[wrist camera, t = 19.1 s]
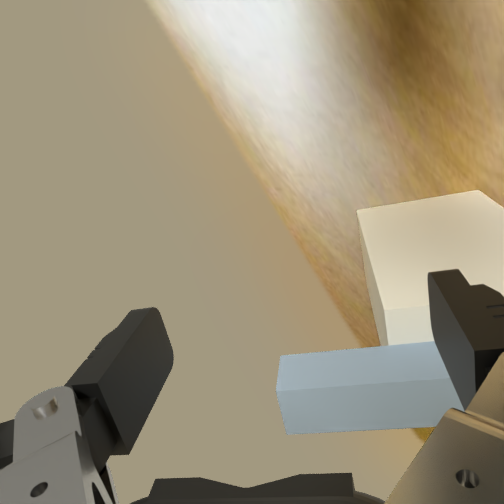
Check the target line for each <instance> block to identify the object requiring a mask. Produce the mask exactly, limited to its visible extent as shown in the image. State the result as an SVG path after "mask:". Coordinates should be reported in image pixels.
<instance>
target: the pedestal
mask: <svg viewBox="0 0 504 504" xmlns="http://www.w3.org/2000/svg"><path fill="white" fill-rule="evenodd" d="M356 213H357V220H358V227H359V235H360V242H361V249H362V257H363V264H364V271H365V279H366V284H367V288H368V293H369V297H370V301H371V306H372V310H373V314H374V319H375V323H376V327H377V332H378V336H379V340H380V345H381V346H388V345H399V344H410V343H420V342H431V341H434V338H433V333H432V328H431V320H430V307H429V294H428V281H427V277H428V273H429V272H435V271H443V270H451V269H459V270H460V272H461V273H462V274H463V276H464V277H465V278H466V280H467V281H468V283H469V284H470V285H478V284H484V285H486V286H488V287H490V288H492V289H494V290H496V291H498V292H500V293H501V294H502V295H503V297H504V208H503V207H502V206H500V205H499V204H497V203H496V202H495V201H493V200H492V199H491V198H489V197H488V196H486V195H485V194H484V193H482V192H481V191H479V190H474V191H468V192H462V193H456V194H450V195H444V196H438V197H432V198H426V199H420V200H414V201H408V202H402V203H396V204H390V205H384V206H377V207H371V208H365V209H359V210H356Z"/></svg>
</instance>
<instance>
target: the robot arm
mask: <svg viewBox="0 0 504 504" xmlns="http://www.w3.org/2000/svg"><path fill="white" fill-rule="evenodd" d="M427 281H428V294H429V307H430V320H431V328H432V333H433V338H434V341H435V344H436V347H437V349H438V351H439V353H440V356H441V358H442V360H443V363H444V365H445V367H446V370H447V372H448V374H449V376H450V379H451V381H452V383H453V386H454V388H455V390H456V393H457V395H458V397H459V399H460V402H461V404H462V406H463V409H464V411H465V412H464V411H461V410H459V409H456V408H450V409H449V410H448V411H446V413H445V414H444V415H443V417H442V418H441V420H440V421H439V423H438V424H437V426H436V427H435V429H434V430H433V432H432V433H431V435H430V436H429V438H428V439H427V440H426V442H425V443H424V445H423V446H422V448H421V449H420V451H419V452H418V454H417V455H416V457H415V458H414V460H413V461H412V463H411V465H410V466H409V467H408V469H407V470H406V472H405V473H404V475H403V476H402V478H401V480H400V481H399V482H398V484H397V485H396V487H395V488H394V490H393V491H392V493H391V494H390V496H389V497H388V499H387V500H386V502H385V501H383V500H381V499H379V498H377V497H374V496H371V495H368V494H365V493H361V492H357V491H355V488H354V483H353V477H352V473H331V474H299V475H296V476H292V477H288V478H284V479H281V480H277V481H274V482H269V483H265V484H262V485H258V486H255V487H250V488H242V487H237V486H233V485H229V484H225V483H221V482H217V481H213V480H208V479H204V478H200V477H199V478H170V479H169V478H168V479H155V481H154V484H153V486H152V489H151V491H150V494H149V496H148V497H145V498H142V499H140V500H137V501H135V502H132V503H131V504H504V297H503V295H502V294H501V293H500V292H498V291H496V290H494V289H492V288H490V287H488V286H486V285H484V284H478V285H470V284H469V283H468V281H467V280H466V278H465V277H464V276H463V274H462V273H461V272H460V270H459V269H451V270H443V271H435V272H429V273H428V277H427ZM172 366H173V350H172V346H171V343H170V340H169V338H168V335H167V332H166V329H165V326H164V323H163V320H162V317H161V315H160V312H159V311H158V309H157V308H154V307H152V308H144V309H137V310H131V311H130V312H129V313H128V315H127V316H126V317H125V318H124V319H123V321H122V322H121V323H120V324H119V326H118V327H117V328H116V329H115V330H113V331H112V332H110V333H109V334H108V335H106V336H105V337H104V338H103V339H102V340H101V342H99V344H98V345H97V346H96V347H95V350H93V351H92V352H91V354H90V355H89V356H88V359H86V360H85V361H84V362H83V363H82V365H81V366H80V367H79V368H78V369H77V371H76V372H75V373H74V374H73V376H72V377H71V378H70V379H69V380H68V382H67V383H66V384H65V385H64V386H61V387H55V388H51V389H48V390H46V391H43V392H41V393H39V394H38V395H36V396H34V397H33V398H31V399H30V400H29V401H27V402H26V403H25V404H24V405H23V406H22V407H21V408H20V409H19V411H18V412H17V414H16V416H15V419H13V420H10V421H7V422H3V423H0V504H119V501H118V497H117V493H116V490H115V486H114V482H113V478H112V474H111V471H110V468H109V466H108V464H107V460H108V458H109V456H110V455H129V454H130V451H131V450H132V448H133V445H134V443H135V441H136V440H137V438H138V436H139V433H140V432H141V430H142V427H143V425H144V424H145V421H146V419H147V417H148V415H149V413H150V411H151V409H152V407H153V405H154V403H155V401H156V399H157V397H158V395H159V393H160V391H161V389H162V387H163V385H164V383H165V381H166V379H167V377H168V375H169V373H170V371H171V369H172Z"/></svg>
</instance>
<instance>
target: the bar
mask: <svg viewBox="0 0 504 504" xmlns="http://www.w3.org/2000/svg"><path fill="white" fill-rule="evenodd" d="M276 394H277V398H278V402H279V406H280V410H281V414H282V418H283V422H284V425H285V430H286V434H287V435H288V434H306V433H326V432H345V431H365V430H383V429H403V428H422V427H436V426H437V424H438V423H439V421H440V420H441V418H442V417H443V415H444V414H445V413H446V411H448V410H449V409H450V408H456V409H459V410H461V411H464V409H463V406H462V404H461V402H460V399H459V397H458V395H457V393H456V390H455V388H454V386H453V383H452V381H451V379H450V376H449V374H448V372H447V370H446V367H445V365H444V363H443V360H442V358H441V356H440V353H439V351H438V349H437V347H436V344H435V341H431V342H420V343H410V344H399V345H388V346H378V347H367V348H357V349H346V350H336V351H325V352H315V353H305V354H295V355H283V356H281V357H280V364H279V372H278V379H277V386H276ZM464 412H465V411H464Z"/></svg>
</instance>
